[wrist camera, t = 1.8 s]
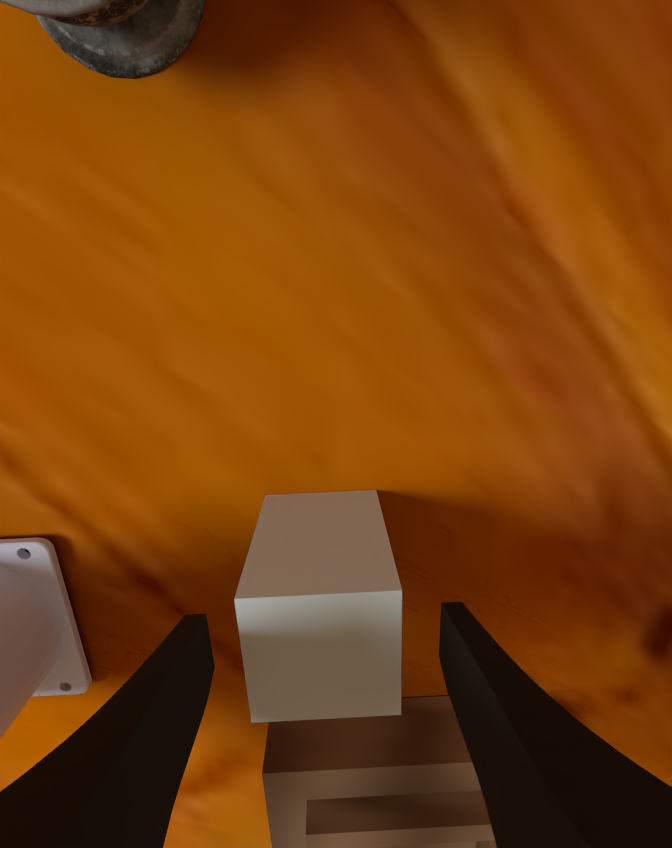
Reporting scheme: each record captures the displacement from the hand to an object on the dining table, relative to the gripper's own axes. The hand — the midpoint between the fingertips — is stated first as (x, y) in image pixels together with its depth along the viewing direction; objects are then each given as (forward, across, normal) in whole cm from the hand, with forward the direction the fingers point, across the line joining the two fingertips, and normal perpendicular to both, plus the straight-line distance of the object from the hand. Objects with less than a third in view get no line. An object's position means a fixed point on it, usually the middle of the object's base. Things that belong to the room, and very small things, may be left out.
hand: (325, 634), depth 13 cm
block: (+5, 0, 0) cm, 5 cm away
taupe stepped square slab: (+5, -3, +15) cm, 16 cm away
